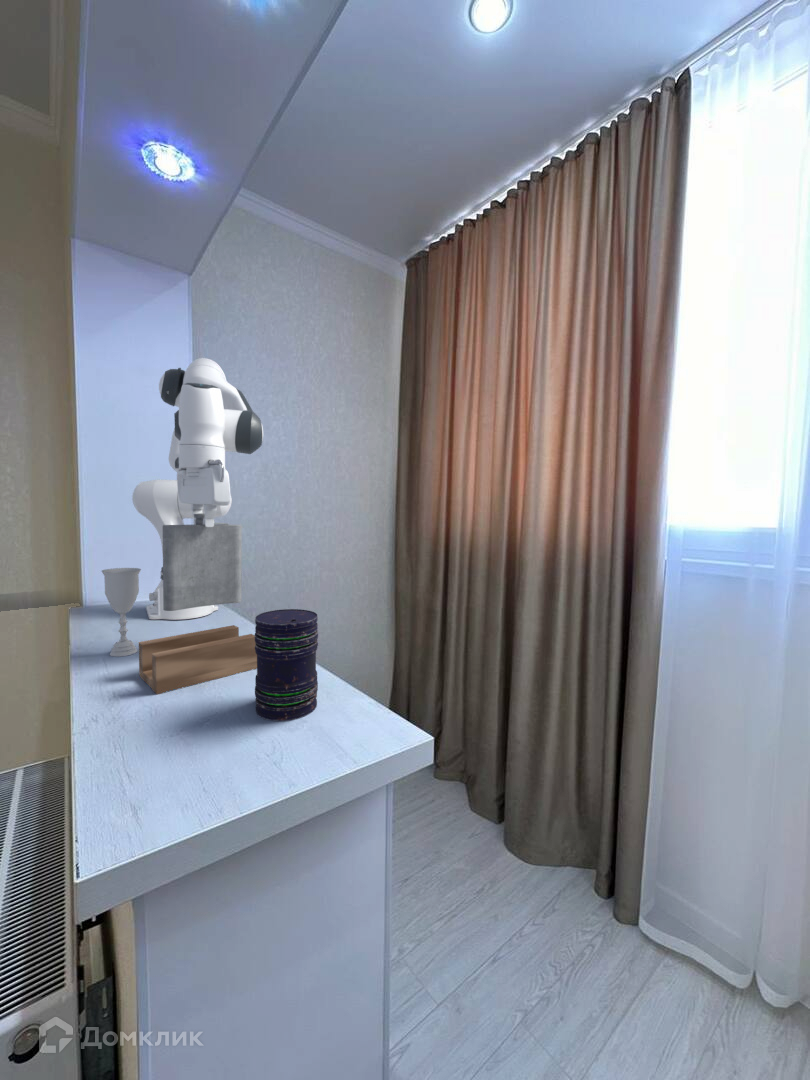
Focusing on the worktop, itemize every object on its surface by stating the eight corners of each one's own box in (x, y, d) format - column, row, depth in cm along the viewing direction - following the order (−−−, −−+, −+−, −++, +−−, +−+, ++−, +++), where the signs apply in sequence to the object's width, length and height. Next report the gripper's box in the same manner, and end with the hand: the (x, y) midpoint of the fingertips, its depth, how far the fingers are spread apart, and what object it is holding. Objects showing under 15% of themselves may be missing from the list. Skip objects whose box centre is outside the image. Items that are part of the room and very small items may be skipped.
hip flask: (165, 611, 88) (164, 513, 86) (160, 607, 91) (159, 512, 89) (243, 602, 99) (244, 514, 97) (236, 598, 102) (237, 513, 100)
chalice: (150, 648, 97) (148, 568, 95) (128, 658, 90) (125, 573, 89) (119, 646, 97) (117, 567, 96) (95, 656, 91) (92, 571, 89)
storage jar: (246, 702, 71) (246, 613, 70) (303, 688, 77) (303, 606, 76) (267, 728, 63) (266, 628, 62) (328, 710, 69) (328, 618, 68)
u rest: (139, 675, 81) (138, 642, 81) (234, 654, 94) (233, 625, 93) (156, 694, 74) (155, 657, 73) (257, 668, 86) (257, 636, 86)
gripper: (238, 459, 87) (239, 528, 88) (200, 464, 101) (201, 523, 102) (206, 457, 82) (207, 529, 84) (171, 462, 97) (172, 523, 98)
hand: (203, 526), depth 93 cm, fingers closed on hip flask, 4 cm apart
